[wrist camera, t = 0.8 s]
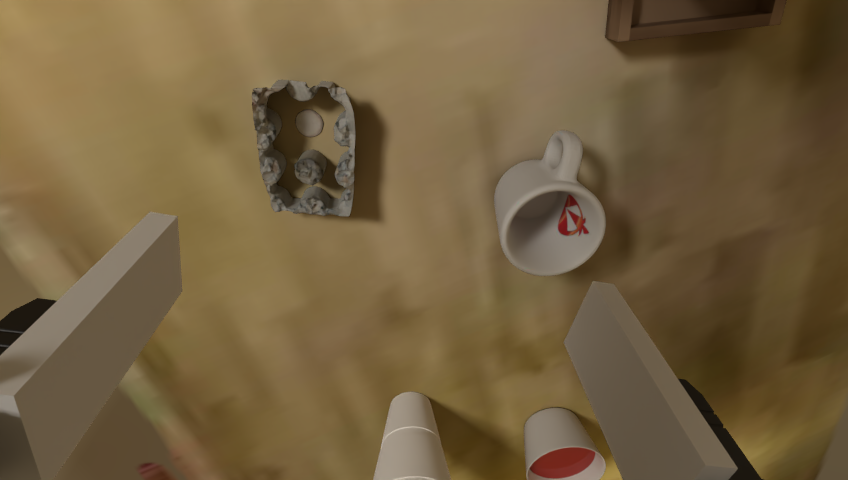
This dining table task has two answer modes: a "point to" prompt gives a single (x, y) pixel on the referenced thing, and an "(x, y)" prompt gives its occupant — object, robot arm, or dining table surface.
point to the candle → (560, 448)
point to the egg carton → (311, 160)
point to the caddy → (687, 17)
